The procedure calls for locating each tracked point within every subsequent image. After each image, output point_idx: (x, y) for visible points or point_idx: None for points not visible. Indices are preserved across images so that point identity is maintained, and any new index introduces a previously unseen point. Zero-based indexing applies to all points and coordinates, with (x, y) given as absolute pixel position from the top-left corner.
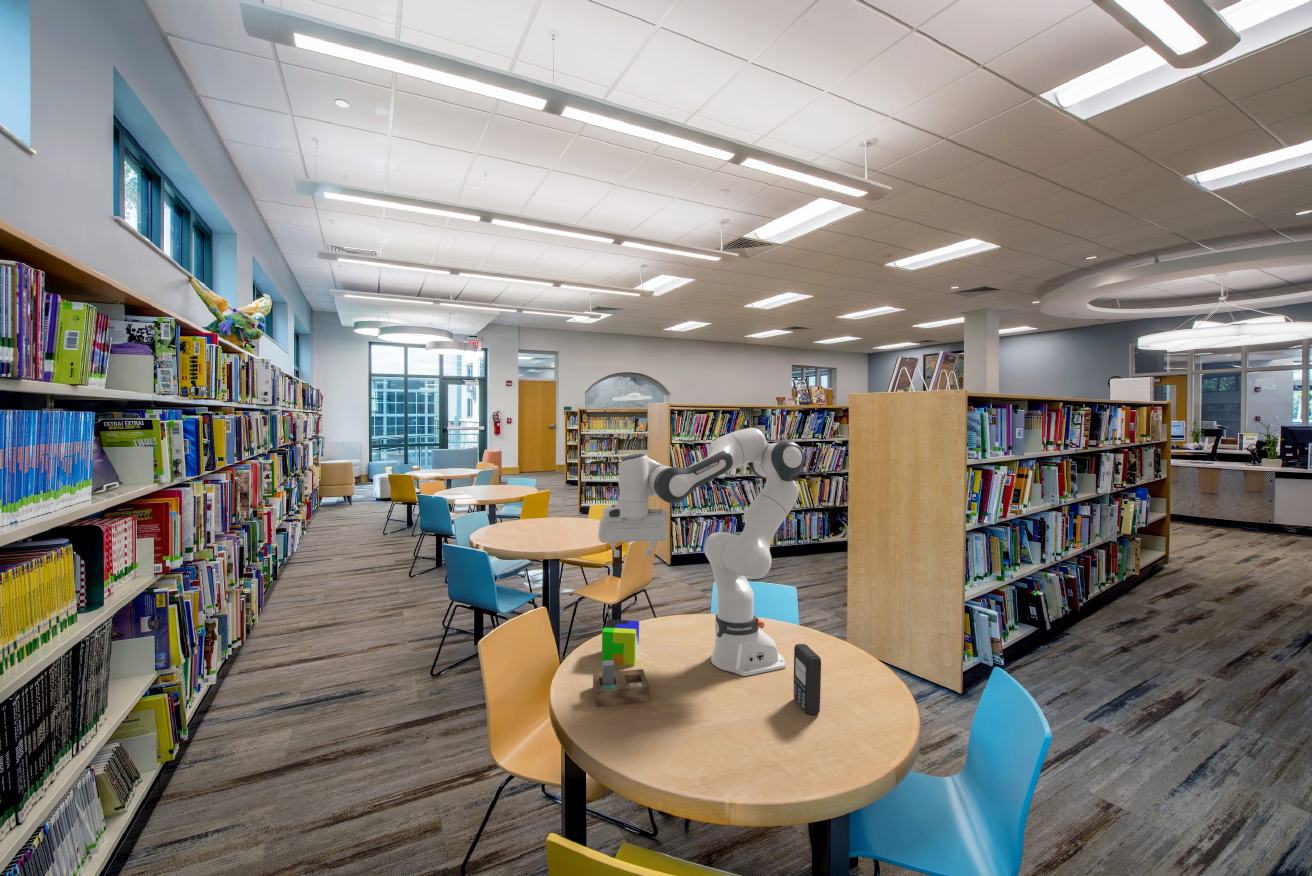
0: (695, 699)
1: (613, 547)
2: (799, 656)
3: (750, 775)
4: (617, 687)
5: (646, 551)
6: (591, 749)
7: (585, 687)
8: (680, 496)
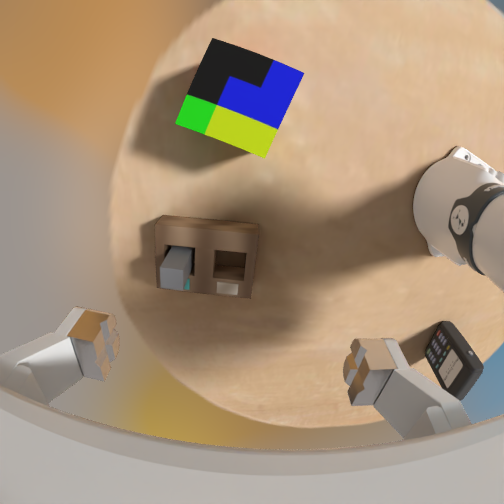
0: (325, 296)
1: (45, 397)
2: (458, 379)
3: (304, 410)
4: (194, 285)
5: (352, 392)
6: (155, 351)
7: (150, 211)
8: None
